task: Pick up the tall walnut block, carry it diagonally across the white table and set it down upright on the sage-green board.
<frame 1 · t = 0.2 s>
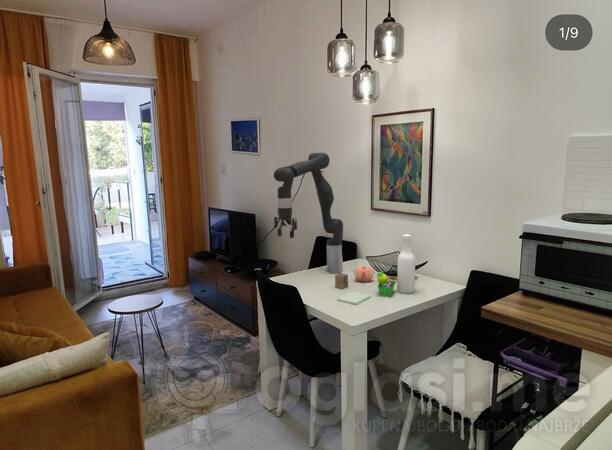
hand: (285, 237, 217), 29 cm above the table, tool pointing down, fingers open, 8 cm apart
teapot: (363, 281, 235), on the table
sage board: (354, 298, 204), on the table
fruit basket: (385, 293, 212), on the table
walnut block: (341, 287, 223), on the table
alcohol: (405, 291, 214), on the table
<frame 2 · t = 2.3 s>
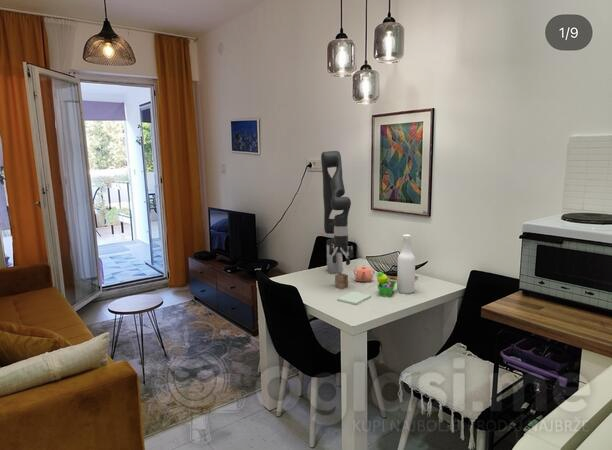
hand: (341, 263, 221), 13 cm above the table, tool pointing down, fingers open, 8 cm apart
nothing on the table moved.
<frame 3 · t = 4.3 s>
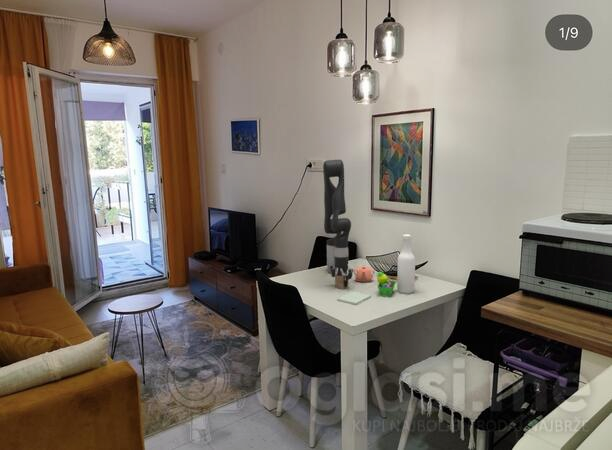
hand: (341, 285, 223), 1 cm above the table, tool pointing down, fingers closed on walnut block, 5 cm apart
walnut block: (341, 287, 223), on the table, touching gripper
everything else where it was.
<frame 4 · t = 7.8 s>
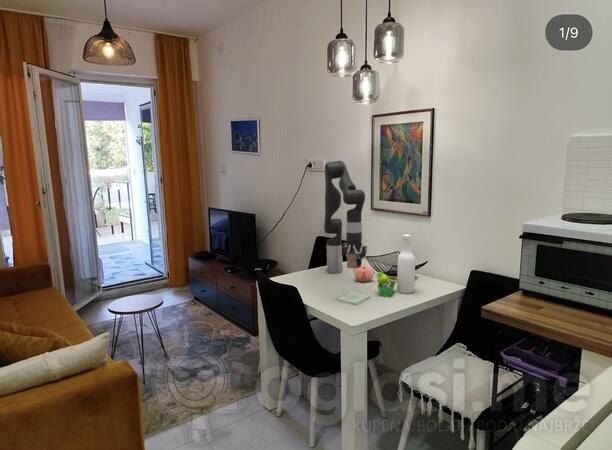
hand: (354, 264, 201), 17 cm above the table, tool pointing down, fingers closed on walnut block, 5 cm apart
walnut block: (354, 267, 201), point 16 cm above the table, touching gripper
everything else where it was.
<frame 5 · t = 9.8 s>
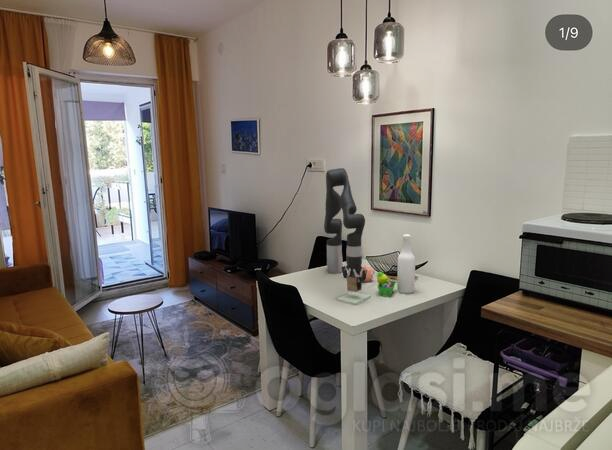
hand: (354, 287, 203), 6 cm above the table, tool pointing down, fingers closed on walnut block, 5 cm apart
walnut block: (354, 289, 203), point 5 cm above the table, touching gripper
everything else where it was.
when the fingers open (3 cm above the table, at t = 11.3 s): walnut block drops 1 cm, resting on sage board.
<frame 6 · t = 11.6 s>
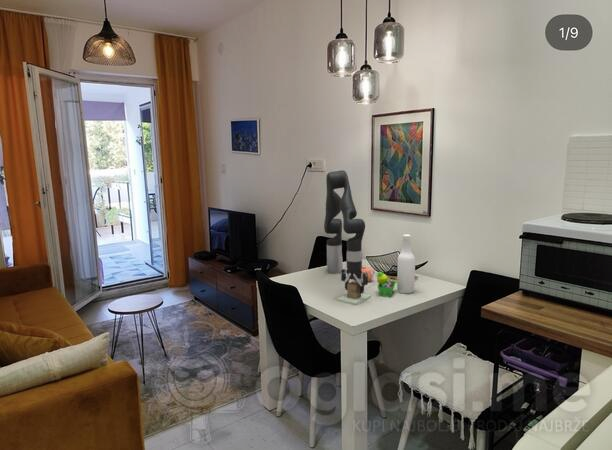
hand: (354, 291, 203), 4 cm above the table, tool pointing down, fingers open, 8 cm apart
walnut block: (354, 297, 204), point 1 cm above the table, touching sage board
everything else where it was.
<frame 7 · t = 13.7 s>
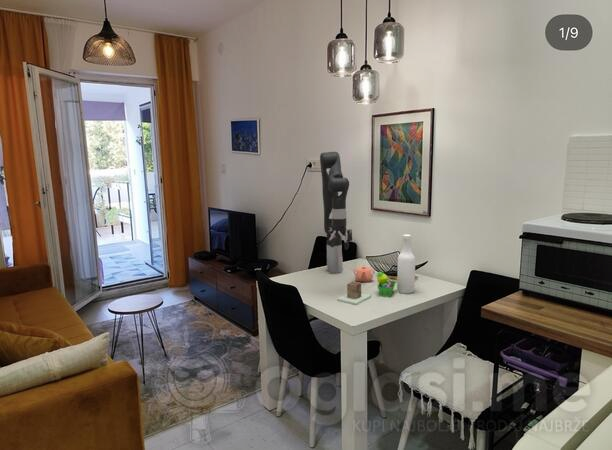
hand: (339, 248, 212), 24 cm above the table, tool pointing down, fingers open, 8 cm apart
nothing on the table moved.
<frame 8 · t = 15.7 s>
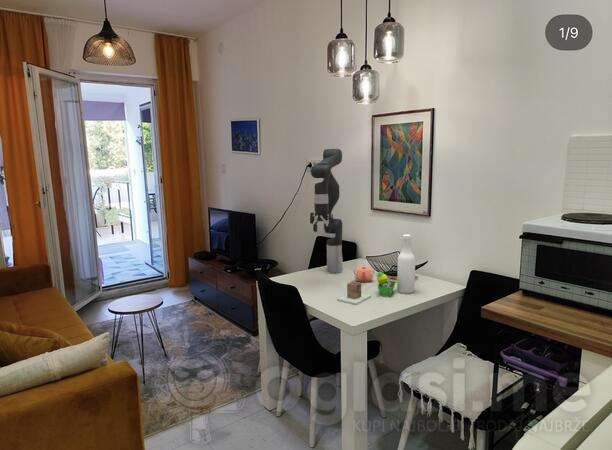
hand: (321, 232, 222), 30 cm above the table, tool pointing down, fingers open, 8 cm apart
nothing on the table moved.
at the end: walnut block inside the target area on the sage board (0.1 cm from its centre), point 1.0 cm above the sage board's base; walnut block tilted 0°; the gripper is holding nothing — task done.
